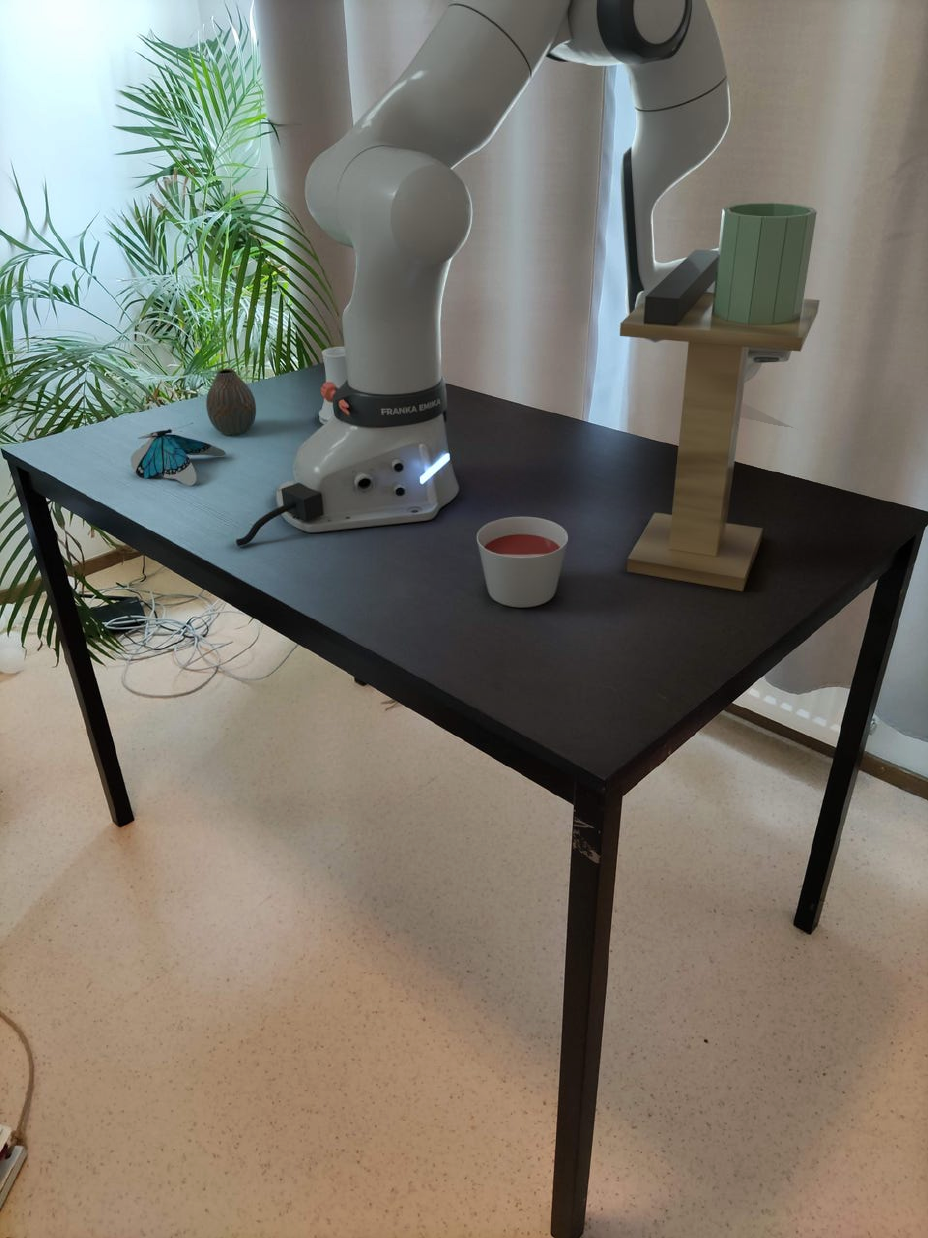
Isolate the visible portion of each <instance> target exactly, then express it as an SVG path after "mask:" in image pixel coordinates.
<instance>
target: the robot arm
mask: <svg viewBox="0 0 928 1238" xmlns="http://www.w3.org/2000/svg"><path fill="white" fill-rule="evenodd" d="M545 58H548V59H550V60H553V61H556V62H559V63H560V62H561V63H567V62H571V63H577V64H584V65H588V66H592V67H608V66H609V67H611V66H618V65H622V66H623V68H624V69H625V71H626V73H627V75H628V81H629V87H630V93H631V97H632V101H633V106H634V111H635V117H636V125H635V126H636V127H635V134H634V137H633V141H632V145H631V146H629V148H628V149H627V150H626V151H625V152H624V153H623V154H622V159H621V164H620V199H621V201H620V202H621V217H622V230H623V231H622V232H623V243H624V256H625V268H626V287H625V298H624V305H625V307H624V308H625V313H626V314H625V315H626V317H627V316H629V315H630V314H631V313H632V312H633V311H634V310H635V309H636V308H637V307H638V306H639V305H640V304H641V303H642V302H643V301H644V300H645V296H646V295H647V294H649V293H650V292H651V291H652V290H653V289H654V288H655V287H656V286H657V285H658V284H659V283H660V282H661V281H662V280H663V279H665V278H666V277H667V276H668V275H669V274H670V273H671V272H672V271H673V270H674V269H675V268H676V267H677V266H678V265H679V264H680V263H682V262H683V261H684V260H685V259H686V258H687V257H684V258H680V259H677V260H673V261H670V262H664V263H663V262H658V261H657V260H656V258H655V257H656V256H655V255H656V254H655V237H654V219H653V218H654V217H653V216H654V215H653V213H654V210H655V207H656V205H657V204H658V202H659V200H661V198H662V197H663V196H664V195H665V194H666V193H667V192H668V191H669V190H670V189H671V188H672V187H673V186H675V185H676V184H678V182H680V181H681V180H682V179H684V178H686V176H688V175H690V174H691V173H692V172H694V171H695V170H697V169H698V168H699V167H700V166H701V165H703V163H704V162H706V161H707V160H708V159H709V158H710V156H711V155H712V154H713V153H714V152H715V151H716V149H717V148H718V147H719V145H720V144H721V142H722V141H723V139H724V137H725V135H726V133H727V130H728V128H729V125H730V121H731V97H730V87H729V81H728V74H727V68H726V64H725V59H724V54H723V50H722V45H721V42H720V38H719V35H718V31H717V28H716V24H715V22H714V19H713V16H712V13H711V11H710V8H709V5H708V3H707V0H451V2H450V3H449V5H448V6H447V7H446V9H445V11H444V12H443V13H442V14H441V17H440V18H439V20H438V21H437V22H436V24H435V25H434V27H433V28H432V30H431V31H430V33H429V34H428V36H427V38H426V39H425V40H424V42H423V43H422V44H421V46H420V48H419V49H418V51H417V53H415V55H414V56H413V58H412V59H411V61H410V63H408V66H406V68H405V69H404V70H403V72H402V73H401V74H400V76H399V77H398V78H397V79H396V80H395V81H394V82H393V84H392V85H391V86H390V87H389V88H388V89H387V90H386V91H385V92H384V93H383V94H382V95H381V96H380V98H379V99H377V101H375V102H374V103H373V105H371V106H370V107H369V108H368V110H367V111H366V112H365V113H363V115H362V116H361V117H360V118H359V119H358V120H357V121H356V123H355V124H353V126H351V128H350V129H349V130H348V131H347V132H346V133H345V134H344V135H343V136H342V137H341V138H340V139H339V140H338V141H337V142H336V143H334V144H332V146H330V147H329V148H327V149H326V150H324V151H323V152H321V153H320V154H319V155H317V157H316V158H315V159H314V160H313V162H312V163H311V165H310V166H309V168H308V171H307V174H306V178H305V182H304V183H305V184H304V197H305V202H306V206H307V209H308V211H309V212H310V215H311V217H312V218H313V220H314V221H315V222H316V223H317V224H318V226H319V227H320V229H322V230H323V231H324V232H325V233H326V234H327V235H328V236H329V237H330V238H331V239H332V240H334V241H335V242H337V243H338V244H341V245H343V246H345V247H348V248H351V249H354V254H355V270H354V278H353V279H354V281H353V287H352V294H351V296H350V297H351V298H350V299H349V303H348V304H347V305H346V306H345V308H344V310H343V312H342V317H341V322H342V324H341V325H342V333H343V335H342V336H343V345H344V346H343V347H345V358H346V370H347V380H346V382H345V383H344V384H343V385H342V386H341V387H340V388H339V389H338V388H337V387H336V385H334V383H332V382H326V381H325V382H324V383H323V384H322V386H321V387H320V393H321V394H320V395H321V396H322V397H323V399H324V398H325V399H326V400H327V401H328V402H331V403H332V402H333V411H334V416H332V417H331V418H330V419H329V420H328V421H327V422H326V423H325V424H322V426H321V427H320V428H318V429H317V430H316V431H315V432H314V433H313V434H311V435H310V436H309V437H308V438H307V439H306V440H305V441H304V442H302V443H301V444H300V445H299V446H298V448H296V451H295V454H294V456H293V457H294V458H293V463H292V474H291V475H292V477H291V480H289V481H285V482H283V483H282V484H280V486H279V487H278V488H277V491H276V494H275V495H276V496H275V498H276V500H275V501H276V507H277V508H275V509H272V510H271V511H269V512H267V513H266V514H265V515H263V516H261V517H260V518H259V519H258V520H257V521H256V522H255V523H254V524H253V525H252V527H251V528H250V530H249V531H248V533H247V534H246V535H245V536H243V537H241V538H236V539H235V543H236V546H238V547H240V546H241V547H242V546H245V545H247V544H249V543H250V542H252V540H253V539H254V538H255V536H257V534H258V532H259V531H260V530H261V528H262V527H264V525H266V524H267V523H268V522H270V521H271V520H273V519H275V518H276V517H278V516H281V517H282V518H283V519H284V520H285V521H286V522H287V523H288V524H289V525H291V526H292V527H294V528H296V529H297V530H300V531H304V532H306V533H321V532H322V533H323V532H330V531H331V532H332V531H341V530H350V529H359V528H369V527H370V528H371V527H377V526H378V527H379V526H387V525H397V524H407V523H415V522H425V521H431V520H433V519H435V517H436V516H437V515H438V513H439V511H440V509H442V507H444V506H445V505H447V504H448V503H450V502H452V501H453V500H454V499H455V498H456V496H457V495H458V493H459V491H460V485H459V483H458V480H457V477H456V475H455V471H454V467H453V463H452V460H451V455H450V450H449V443H448V438H447V429H446V423H447V421H448V419H447V418H448V415H447V413H448V393H447V387H446V379H445V377H444V376H443V375H442V348H441V347H442V345H441V344H442V343H441V341H442V340H441V315H442V314H441V313H442V304H443V303H442V302H443V297H444V290H445V285H446V282H447V278H448V274H449V270H450V266H451V264H452V260H453V258H454V257H455V256H456V255H457V254H458V253H459V252H460V251H461V249H462V248H463V246H464V244H465V243H466V241H467V239H468V237H469V235H470V232H471V227H472V223H473V201H472V197H471V194H470V192H469V189H468V187H467V185H466V183H465V182H464V180H463V179H462V178H461V177H460V175H458V174H457V172H455V171H454V170H453V169H454V168H455V167H456V166H458V165H459V164H460V163H462V161H464V160H465V159H466V158H468V157H470V156H471V155H473V154H475V153H478V152H479V151H480V150H481V149H482V148H484V147H485V146H486V145H487V144H488V143H489V142H490V141H491V140H492V138H493V137H494V135H495V133H496V132H497V131H498V129H499V128H500V126H501V125H502V124H503V122H504V120H505V119H506V117H507V116H508V114H509V113H510V111H511V110H512V109H513V108H514V105H516V103H517V101H518V99H519V98H520V96H521V95H522V94H523V92H524V91H525V89H526V88H527V86H528V85H529V84H530V82H531V80H532V79H533V77H534V76H535V74H536V72H537V71H538V70H539V68H540V67H541V64H543V63H542V62H543V61H544V60H545ZM712 250H715V251H718V250H719V247H717V248H713V249H712ZM714 287H715V281H714V282H713V283H712V285H711V286H710V287H709V288H708V289H707V290H706V292H710V293H714ZM643 339H644V340H647V341H649V342H651V343H652V342H653V343H660V342H662V341H663V340H661V339H649V338H643ZM791 354H792V351H788V350H777V349H765V348H754V347H749V352H748V359H747V367H746V375H745V383H748V382H749V381H750V380H752V379H753V378H754V377H755V376H756V375H757V374H758V372H759V371H760V369H761V367H762V364H763V363H764V364H765V363H785V362H788V361H789V359H790V357H791Z"/></svg>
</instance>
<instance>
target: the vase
mask: <svg viewBox="0 0 928 1238" xmlns="http://www.w3.org/2000/svg"><path fill="white" fill-rule="evenodd" d="M214 378H215V379H214V380H213V382H212V384H211V386H209V389H208V391H207V394H206V402H205V406H206V413H207V417H208V419H209V421H210V423H211V425H212V426H213V428H215V430H216V431H218V432H219V433H220V434H223V435H225V436H237V435H238V436H239V435H243V434H245V433H247V432H248V431H249V430H250V429H251V428H252V427H253V425H254V423H255V421H256V416H257V404H256V399H255V397H254V395H253V392H252V390H251V389H250V387H249V386H248V385H247V384H246V382H244V380H243V379H241V377H239V375H238V374H237V372H236V370H235V369H233V368H223V369H220V370H218V371H217V372H216V376H215V377H214Z"/></svg>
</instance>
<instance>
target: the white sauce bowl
mask: <svg viewBox="0 0 928 1238" xmlns="http://www.w3.org/2000/svg"><path fill="white" fill-rule="evenodd" d="M568 541H569V536H568V532H567V530H565V528H564V527H562V526H561V525H560V524H558V523H556V522H554V521H552V520H549V519H544V518H541V517H540V518H539V517H534V516H511V517H503V518H499V519H497V520H493V521H491V522H488V523H486V524H484V525H483V526H482V527H481V528H480V529H479V530H478V531H477V534H476V544H477V548H478V551H479V552H478V553H479V557H480V563H481V566H482V571H483V575H484V581H485V585H486V589H487V592H488V595H489V597H490V598H491V599H492V600H493V601H495V602H497V603H498V604H500V605H503V606H506V607H511V608H522V609H523V608H533V607H537V606H540V605H543V604H545V603H547V602H549V601H550V600H551V599H552V598H553V597H554V596H555V594H556V591H557V588H558V584H559V580H560V577H561V571H562V567H563V563H564V558H565V554H566V550H567V545H568Z"/></svg>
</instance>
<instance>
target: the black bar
mask: <svg viewBox="0 0 928 1238" xmlns="http://www.w3.org/2000/svg"><path fill="white" fill-rule="evenodd" d="M685 258H686V259H685V260H684V261H683V262H682V263H680V264H679V265H678V266H677V267H676V268H675V269H674V270H673V271H672V272H671V273H670V274H669V275H668V276H667V277H666V278H665V279H663V280H662V281H661V282H660V283H659V284H658V285H657V286H656V287H655V288H654V289H653V290H652V291H651V292H650V293H649V294H647V295H646V296H645V308H644V323H649V324H661V325H673V326H676V325H677V324H678V323H679V321H680V320H681V319H682V318H683V317H684V316H685V315H686V313H687V312H688V311H689V310H690V309H691V308H692V306H693V305H694V304H695V303H696V302H697V301H698V300H699V298H700V297H701V296H702V295H703V294H704V293H705V292H706V290H707V289H708V288H709V287H710V286H711V285H712V283H713V282H714V281H715V278H716V269H717V259H718V251H715V250H713V249H694V250H693V251H692V252H691V253H690V254H689V255H688V256H687V257H685Z"/></svg>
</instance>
